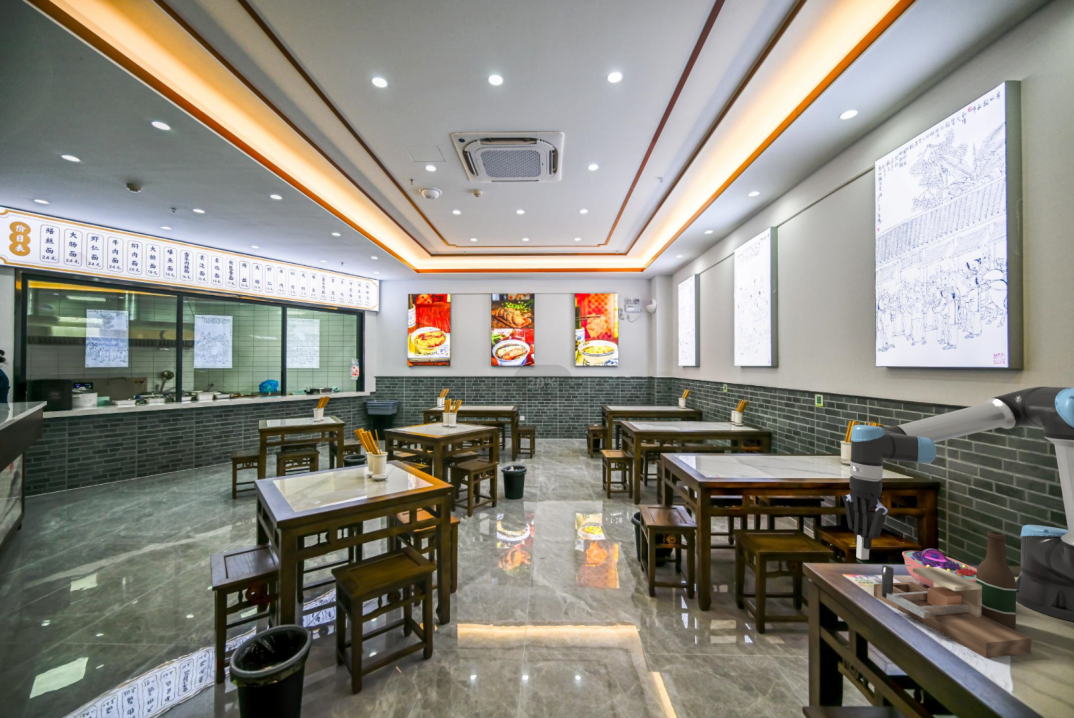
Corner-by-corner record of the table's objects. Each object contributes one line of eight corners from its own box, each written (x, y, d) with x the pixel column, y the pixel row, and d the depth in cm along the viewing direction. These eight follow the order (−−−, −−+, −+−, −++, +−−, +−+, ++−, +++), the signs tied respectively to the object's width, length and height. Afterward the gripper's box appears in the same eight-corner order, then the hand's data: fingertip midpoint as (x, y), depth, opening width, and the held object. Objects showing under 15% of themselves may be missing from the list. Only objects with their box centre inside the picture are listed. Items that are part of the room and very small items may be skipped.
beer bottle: (1005, 619, 114) (1007, 531, 114) (1024, 635, 106) (1026, 541, 107) (967, 611, 117) (969, 525, 117) (983, 626, 110) (985, 535, 110)
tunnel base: (911, 593, 125) (911, 581, 126) (1030, 653, 99) (1031, 638, 100) (873, 596, 123) (873, 584, 123) (986, 658, 97) (986, 642, 97)
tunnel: (937, 595, 118) (938, 567, 118) (981, 616, 108) (981, 585, 108) (912, 597, 116) (912, 568, 116) (954, 618, 106) (954, 587, 107)
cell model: (926, 601, 121) (927, 562, 122) (891, 570, 140) (892, 537, 141) (1001, 614, 116) (1002, 573, 116) (953, 580, 135) (954, 545, 136)
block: (941, 601, 115) (942, 586, 115) (961, 610, 110) (961, 595, 110) (927, 602, 114) (927, 587, 114) (946, 612, 109) (946, 596, 110)
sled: (925, 591, 119) (926, 562, 120) (973, 614, 108) (974, 582, 109) (879, 594, 116) (880, 565, 116) (923, 618, 105) (924, 586, 105)
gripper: (835, 472, 129) (832, 548, 128) (877, 484, 116) (873, 569, 115) (855, 472, 130) (852, 548, 129) (899, 484, 117) (895, 568, 117)
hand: (862, 558), depth 122 cm, fingers closed
